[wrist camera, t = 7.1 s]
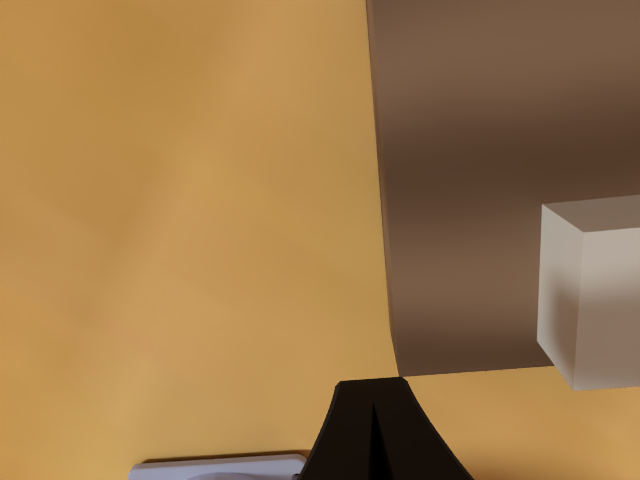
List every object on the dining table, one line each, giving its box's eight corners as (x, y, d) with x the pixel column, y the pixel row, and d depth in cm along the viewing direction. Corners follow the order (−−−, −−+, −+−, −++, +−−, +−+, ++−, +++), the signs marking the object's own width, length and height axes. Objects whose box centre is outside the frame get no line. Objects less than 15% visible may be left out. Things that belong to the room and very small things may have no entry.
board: (709, 306, 18) (776, 349, 16) (390, 331, 19) (399, 377, 17) (776, -95, 14) (884, -134, 11) (362, -39, 15) (368, -63, 12)
